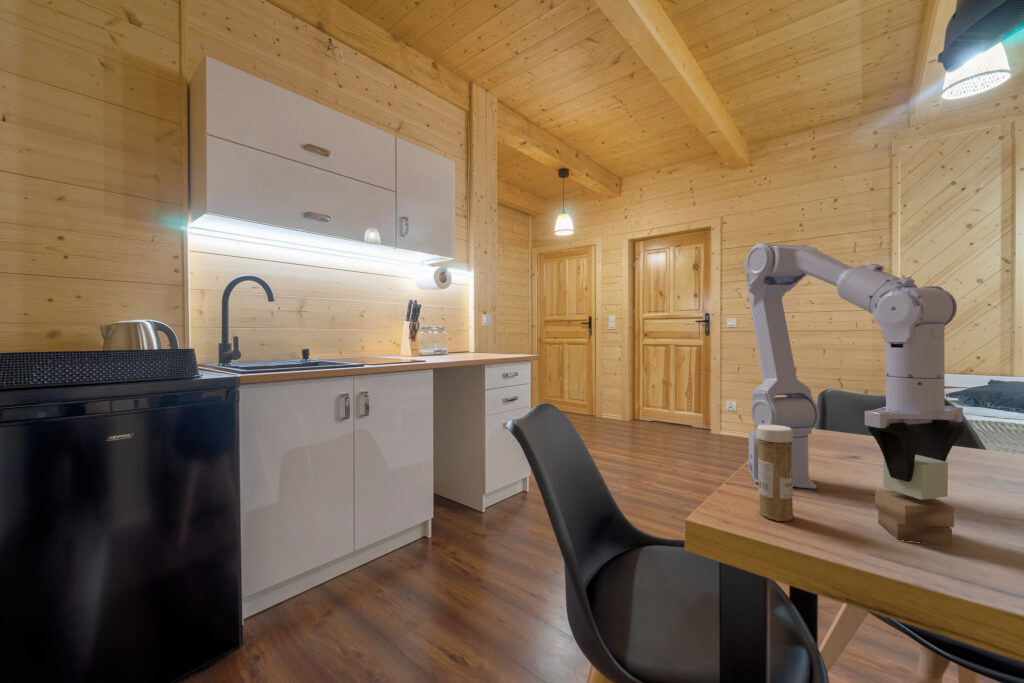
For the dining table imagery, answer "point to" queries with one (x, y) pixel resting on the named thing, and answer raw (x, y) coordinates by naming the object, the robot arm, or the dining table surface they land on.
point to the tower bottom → (916, 531)
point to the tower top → (914, 509)
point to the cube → (922, 479)
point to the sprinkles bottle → (775, 472)
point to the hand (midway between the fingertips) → (914, 477)
